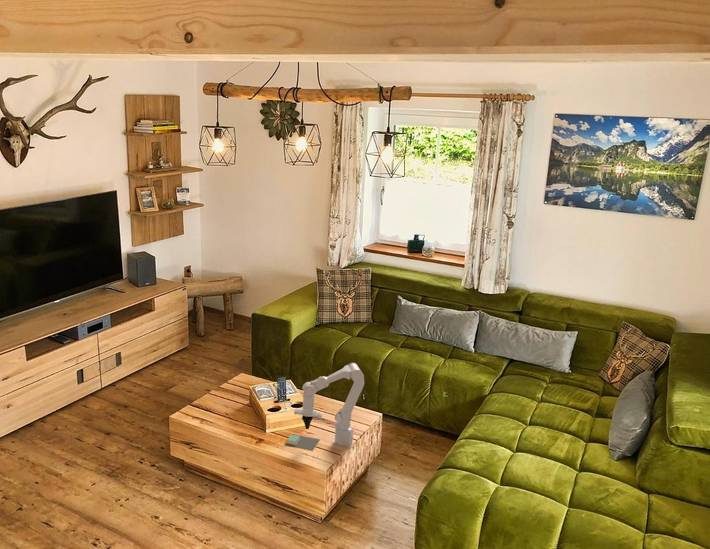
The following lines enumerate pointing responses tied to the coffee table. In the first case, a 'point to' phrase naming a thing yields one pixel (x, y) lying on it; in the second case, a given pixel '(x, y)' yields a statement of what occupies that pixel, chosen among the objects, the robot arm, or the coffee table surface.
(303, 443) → the mat
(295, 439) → the tile
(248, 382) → the coffee table surface
